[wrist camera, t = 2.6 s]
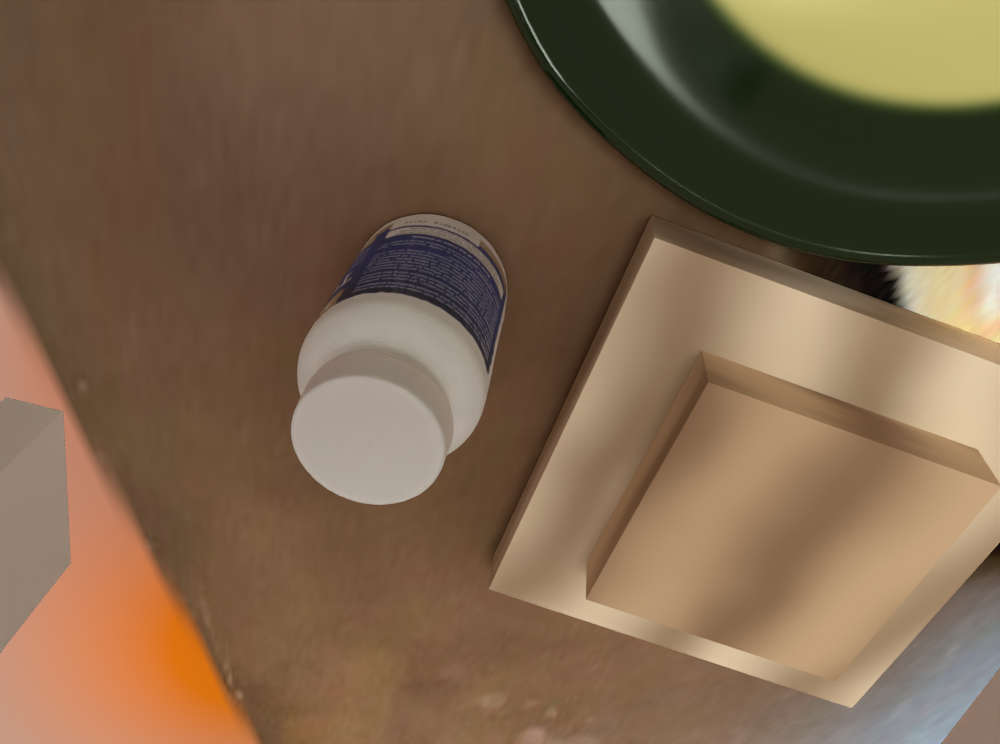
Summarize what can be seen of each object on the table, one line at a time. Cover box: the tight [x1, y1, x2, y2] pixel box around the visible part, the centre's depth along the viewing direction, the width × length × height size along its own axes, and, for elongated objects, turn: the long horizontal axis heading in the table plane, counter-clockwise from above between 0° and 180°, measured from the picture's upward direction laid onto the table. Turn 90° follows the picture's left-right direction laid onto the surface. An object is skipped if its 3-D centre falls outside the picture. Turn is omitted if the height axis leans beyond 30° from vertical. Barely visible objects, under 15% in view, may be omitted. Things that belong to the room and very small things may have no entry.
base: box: [489, 215, 1000, 708], centre depth 31 cm, size 16×16×4 cm
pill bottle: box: [291, 214, 508, 505], centre depth 25 cm, size 5×5×10 cm
